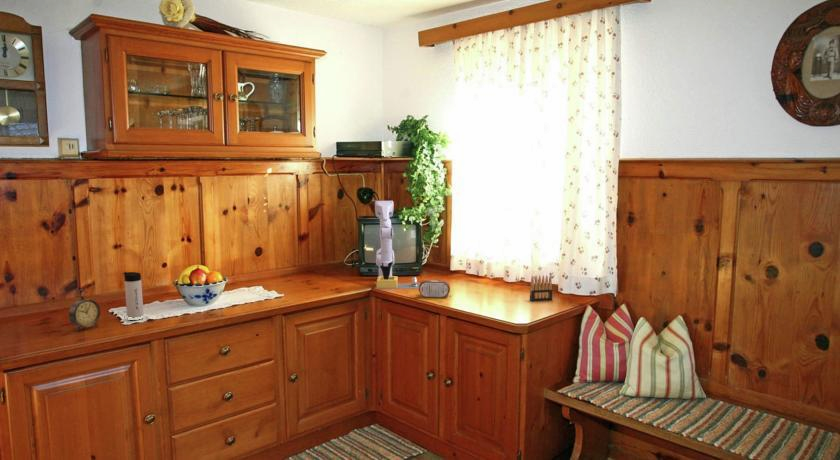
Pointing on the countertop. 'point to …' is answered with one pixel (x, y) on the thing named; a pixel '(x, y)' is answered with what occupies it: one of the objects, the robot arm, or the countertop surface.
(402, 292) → the countertop surface
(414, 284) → the metal drawer knob
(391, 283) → the link
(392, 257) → the robot arm
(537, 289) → the ammunition clip
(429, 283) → the tin
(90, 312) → the alarm clock
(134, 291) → the travel mug
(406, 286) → the keeper board
